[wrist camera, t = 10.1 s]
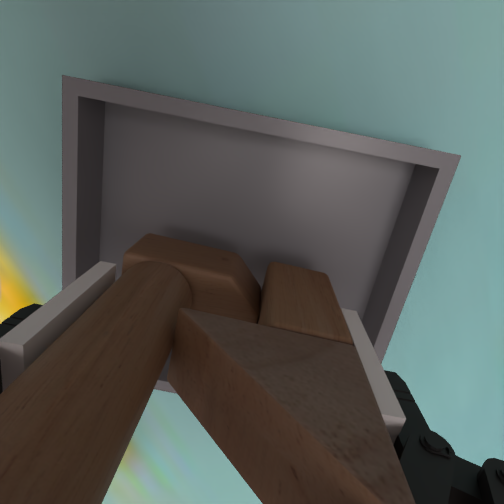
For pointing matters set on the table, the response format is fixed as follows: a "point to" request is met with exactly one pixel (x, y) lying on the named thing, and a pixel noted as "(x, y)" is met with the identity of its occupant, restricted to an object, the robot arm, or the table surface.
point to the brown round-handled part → (203, 384)
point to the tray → (247, 194)
